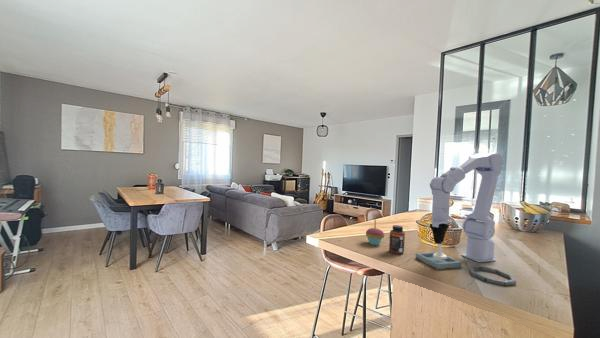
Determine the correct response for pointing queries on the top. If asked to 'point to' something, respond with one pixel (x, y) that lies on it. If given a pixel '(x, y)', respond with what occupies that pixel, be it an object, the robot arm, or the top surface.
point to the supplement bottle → (397, 240)
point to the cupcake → (374, 235)
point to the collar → (490, 280)
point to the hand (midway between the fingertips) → (438, 242)
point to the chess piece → (439, 253)
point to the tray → (438, 261)
